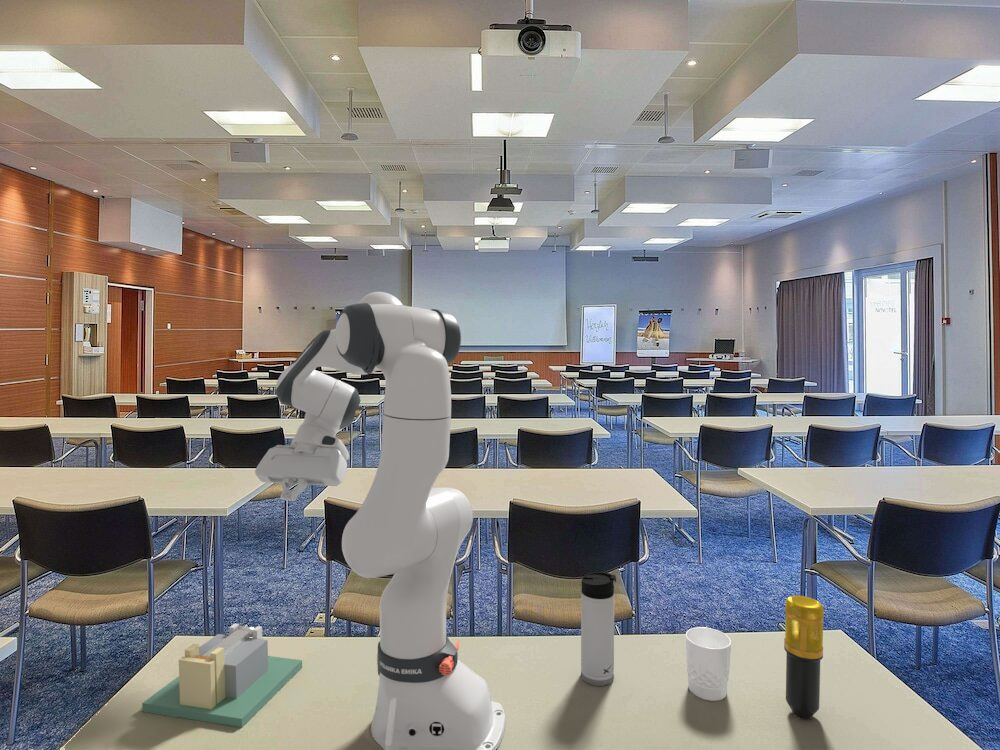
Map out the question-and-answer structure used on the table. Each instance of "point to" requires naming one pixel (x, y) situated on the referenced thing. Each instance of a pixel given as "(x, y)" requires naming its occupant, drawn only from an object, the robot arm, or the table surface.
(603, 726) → the table surface
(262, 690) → the base
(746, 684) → the table surface
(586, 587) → the travel mug
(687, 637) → the white cup
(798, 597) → the microphone
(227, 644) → the retention strap
